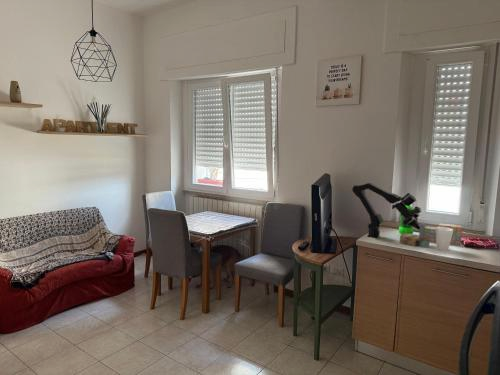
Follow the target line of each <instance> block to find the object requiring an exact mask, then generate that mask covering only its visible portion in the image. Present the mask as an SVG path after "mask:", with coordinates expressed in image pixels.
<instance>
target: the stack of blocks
mask: <svg viewBox="0 0 500 375" xmlns="http://www.w3.org/2000/svg"><path fill="white" fill-rule="evenodd" d="M438 227H446V228H451V229H453V234H452V237H451V241H450V245H452V246H453V245H454V246H461V242H462V234H463V233H462V230H463V226H462V225H458V224H453V223H452V224H451V223H450V224H449V223H439V225H438ZM435 230H436V227H435V226H427V225H426V228H425V238H424V239H425V240H429V241H430V243H436V232H435Z"/></svg>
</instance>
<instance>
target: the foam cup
mask: <svg viewBox="0 0 500 375" xmlns="http://www.w3.org/2000/svg"><path fill="white" fill-rule="evenodd" d="M435 232H436V249H437V250H438V251H442V252H443V251H444V252H446V251H449V249H450V246H451V244H450V241H451V237H452V234H453V229H451V228H446V227H439V226H437V227H436V230H435Z"/></svg>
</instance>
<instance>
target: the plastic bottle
mask: <svg viewBox="0 0 500 375" xmlns="http://www.w3.org/2000/svg"><path fill="white" fill-rule="evenodd" d="M404 205H405V204H404ZM405 206H406V205H405ZM406 207H407V208H408V209H411V210H412V209H414V208H413V207H412V206H411V205H410V206H408V205H407V206H406ZM398 212H399V211H398ZM399 216H400V223H399V228H398V233H399V234H400V236H401V235H402V234H404V233H407V234H413V235H414V227H413V226H410V225H408V224H409V222H408V223H407V224H406V225H404V224H403V220H405V218H404V217H403V216H401V215H400V212H399Z"/></svg>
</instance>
